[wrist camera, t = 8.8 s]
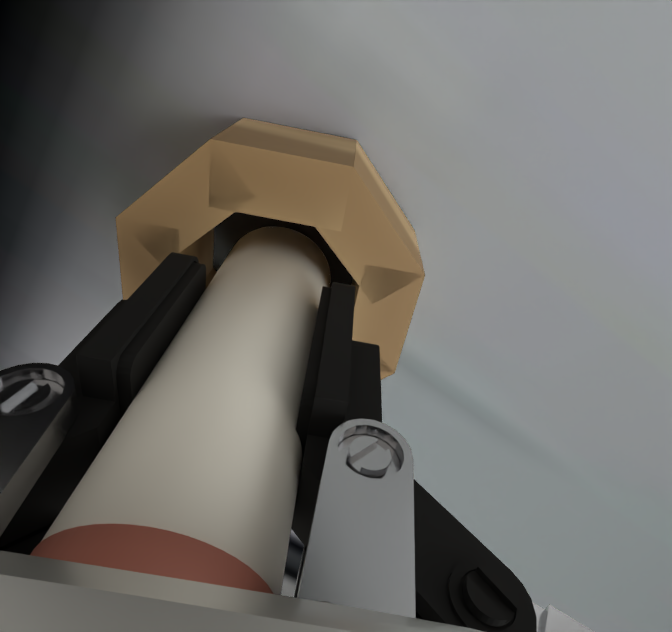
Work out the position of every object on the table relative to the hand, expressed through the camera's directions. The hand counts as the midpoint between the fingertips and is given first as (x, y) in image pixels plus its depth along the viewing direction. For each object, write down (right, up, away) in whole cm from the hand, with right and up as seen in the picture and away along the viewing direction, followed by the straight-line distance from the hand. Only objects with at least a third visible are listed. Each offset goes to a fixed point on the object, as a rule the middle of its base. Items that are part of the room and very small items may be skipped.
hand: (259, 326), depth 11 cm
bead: (0, +2, +4) cm, 4 cm away
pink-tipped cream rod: (0, +1, +2) cm, 3 cm away
